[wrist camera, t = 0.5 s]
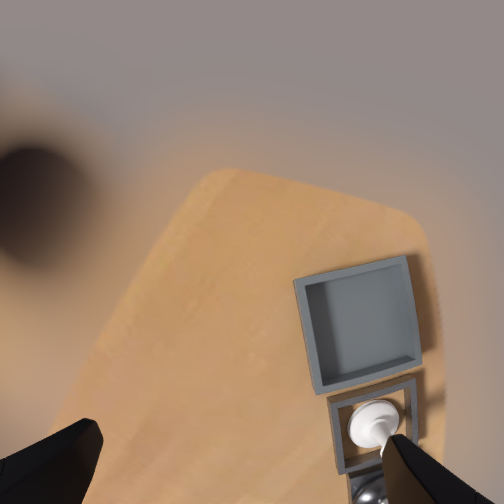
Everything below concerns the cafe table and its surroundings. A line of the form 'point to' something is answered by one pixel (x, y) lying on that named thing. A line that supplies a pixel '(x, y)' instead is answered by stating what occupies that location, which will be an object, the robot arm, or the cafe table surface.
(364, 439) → the chess piece
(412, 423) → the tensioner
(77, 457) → the robot arm
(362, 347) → the tray
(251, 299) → the cafe table surface
